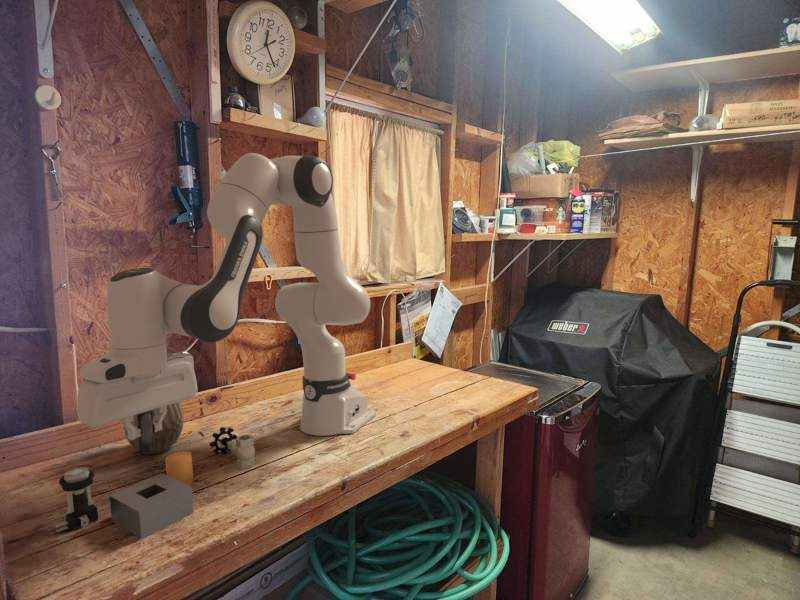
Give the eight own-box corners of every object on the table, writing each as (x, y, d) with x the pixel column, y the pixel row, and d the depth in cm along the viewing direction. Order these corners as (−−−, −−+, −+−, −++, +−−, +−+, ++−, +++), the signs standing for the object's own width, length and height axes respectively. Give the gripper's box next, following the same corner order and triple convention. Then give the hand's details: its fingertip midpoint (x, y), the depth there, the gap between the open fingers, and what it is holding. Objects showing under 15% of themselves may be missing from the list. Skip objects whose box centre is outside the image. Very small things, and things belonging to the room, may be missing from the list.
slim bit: (149, 445, 92) (146, 404, 91) (157, 448, 91) (154, 406, 90) (135, 450, 90) (132, 408, 89) (143, 454, 89) (140, 410, 88)
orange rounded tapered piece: (184, 475, 108) (182, 449, 107) (198, 481, 105) (196, 455, 104) (162, 485, 104) (160, 458, 103) (176, 492, 101) (174, 464, 100)
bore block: (163, 496, 99) (161, 473, 99) (193, 511, 94) (191, 486, 93) (111, 521, 91) (109, 495, 90) (141, 539, 86) (139, 512, 85)
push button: (62, 539, 86) (56, 485, 84) (51, 528, 89) (45, 476, 88) (104, 521, 91) (98, 470, 90) (91, 512, 94) (86, 462, 93)
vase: (173, 433, 131) (168, 369, 129) (193, 448, 122) (188, 379, 119) (119, 448, 122) (112, 380, 120) (136, 466, 113) (129, 392, 110)
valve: (264, 462, 114) (235, 448, 122) (262, 435, 113) (234, 422, 121) (238, 473, 109) (210, 457, 117) (236, 444, 108) (208, 431, 116)
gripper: (182, 347, 99) (187, 414, 100) (69, 370, 82) (76, 450, 83) (202, 350, 95) (206, 420, 97) (87, 375, 78) (95, 459, 80)
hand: (145, 434), depth 90 cm, fingers closed on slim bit, 3 cm apart
